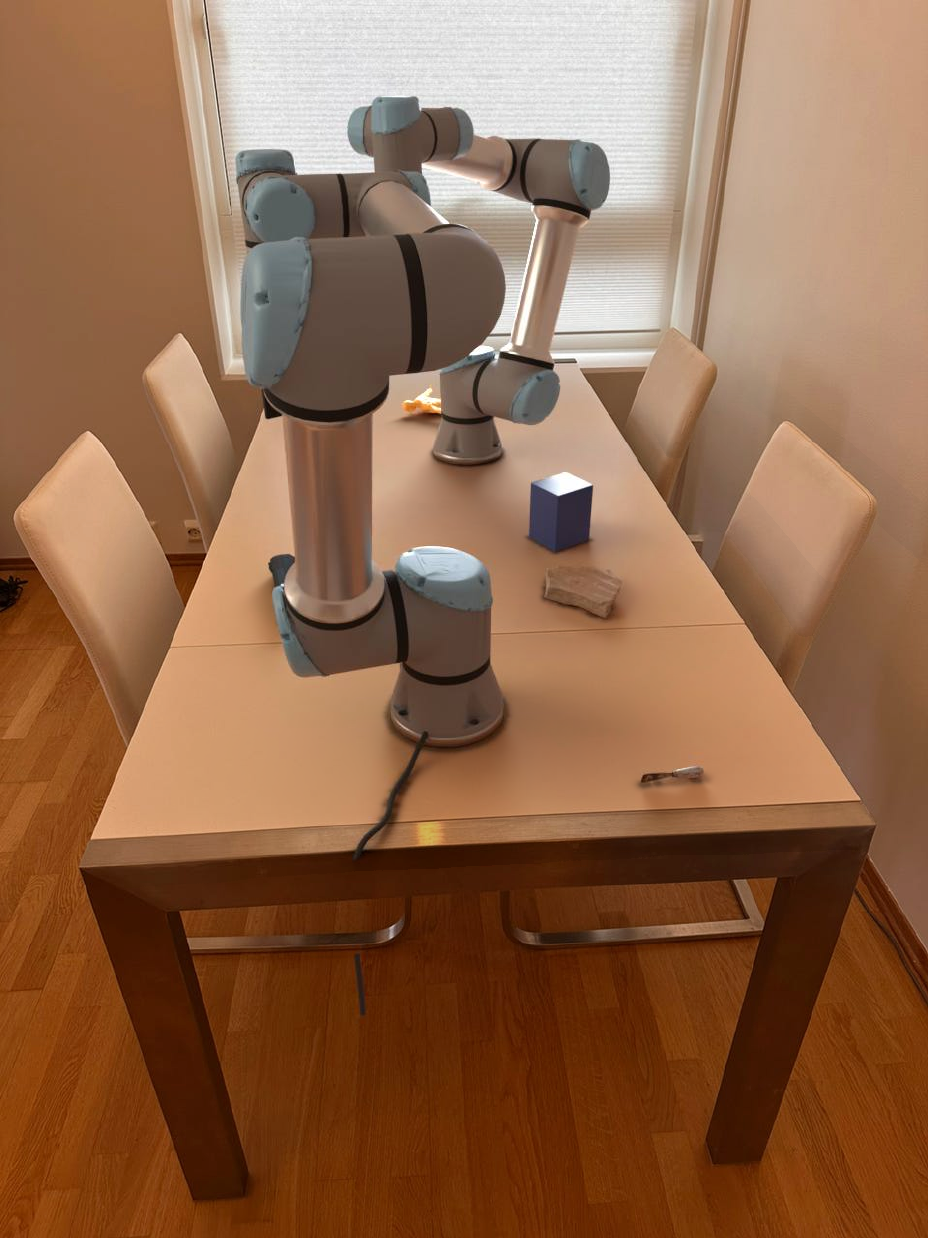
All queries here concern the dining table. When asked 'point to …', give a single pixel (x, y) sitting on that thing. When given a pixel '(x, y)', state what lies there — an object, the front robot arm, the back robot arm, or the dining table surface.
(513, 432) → the dining table surface
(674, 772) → the putty knife
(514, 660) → the dining table surface
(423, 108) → the back robot arm
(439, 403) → the human figure
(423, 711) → the front robot arm
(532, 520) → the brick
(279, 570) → the handgun
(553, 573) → the stone
